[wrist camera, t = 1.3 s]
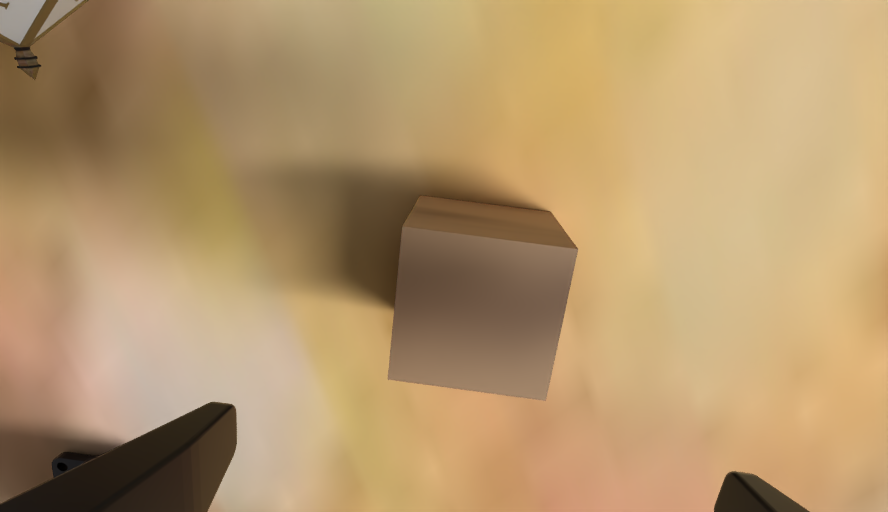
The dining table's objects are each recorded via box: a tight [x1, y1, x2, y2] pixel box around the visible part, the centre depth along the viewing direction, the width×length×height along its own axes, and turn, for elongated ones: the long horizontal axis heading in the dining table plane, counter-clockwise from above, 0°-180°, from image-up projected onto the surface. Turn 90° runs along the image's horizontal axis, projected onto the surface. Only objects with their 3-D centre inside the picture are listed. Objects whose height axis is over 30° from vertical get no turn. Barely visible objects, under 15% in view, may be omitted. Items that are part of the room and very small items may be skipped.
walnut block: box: [388, 195, 578, 401], centre depth 17 cm, size 5×5×5 cm
